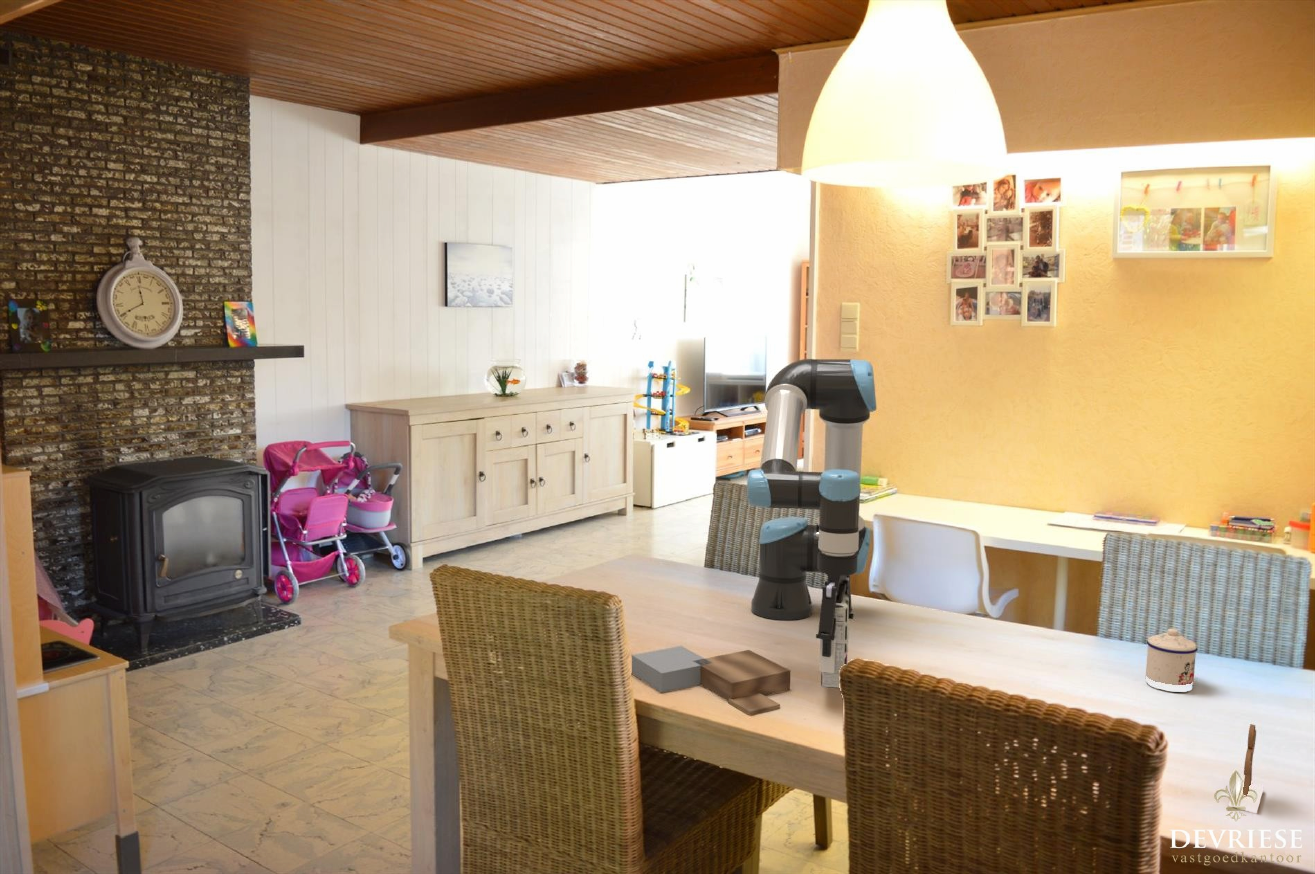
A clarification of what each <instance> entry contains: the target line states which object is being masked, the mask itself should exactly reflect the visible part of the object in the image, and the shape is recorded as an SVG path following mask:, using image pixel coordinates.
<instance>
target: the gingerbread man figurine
mask: <svg viewBox="0 0 1315 874" xmlns="http://www.w3.org/2000/svg"><path fill="white" fill-rule="evenodd" d="M1249 725H1250V726H1249V729H1248V733H1247V734H1248V736H1247V750H1246V753H1245V759H1244V767H1243V775H1244V780H1243V782H1244V787H1243V794H1244V795H1246V796H1247V794H1248V791H1249V786H1250V785H1251V781H1252V780H1253V778H1252V777H1253V775H1252V774H1253V773H1252V772H1253V759H1254V753H1255V746H1256V740H1257V730H1256V724H1253V723H1251V724H1249Z"/></svg>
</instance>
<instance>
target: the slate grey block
mask: <svg viewBox="0 0 1315 874" xmlns="http://www.w3.org/2000/svg"><path fill="white" fill-rule="evenodd" d="M700 659H702V661H703V659H705V657H703V656H701V655H700V654H697V653H695V652H694V651H692V650H691V649H688V648H686V647H684V646H682V645H678V646H673V647H668V648H663V649H657V650H652V651H647V652H642V653H637V654H631V675H633V676H634V677H635V678H637V679H639V680H640V681H642V682H643V683H645V684H647V685H648V686H650V687H651V688H653V689H654V690H656V691H657V692H660V693H661V694H664V693H668V692H672V691H677V690H683V689H689V688H692V687H697V686H701V685H700V671H701V665H703V664H704V662H701V663H703V664H701V663H700V664H701V665H700V664H697V663H695V662H693V661H696V660H698V661H701V660H700ZM706 661H707V660H706ZM708 662H709V661H708ZM705 663H706V662H705ZM709 663H712V662H709ZM709 663H708V664H709ZM705 665H706V664H705Z"/></svg>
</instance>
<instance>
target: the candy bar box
mask: <svg viewBox="0 0 1315 874" xmlns="http://www.w3.org/2000/svg"><path fill="white" fill-rule="evenodd" d="M848 612H849V594H848V595H847V594H845V593H844V595H843V601H842V603H836V607H835V616H834V618H836V629H835V635H834V636H835V638H834V639H836V644H835V672H834V673H827V672H820V686H821V688H825V689H837V690H841V689H840V688H839V670H840V668H841V666H843V665H844V664H847V665H848V652H847V650H848V651H849V640H848V620H849V619H848ZM824 633H828V632H824Z"/></svg>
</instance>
